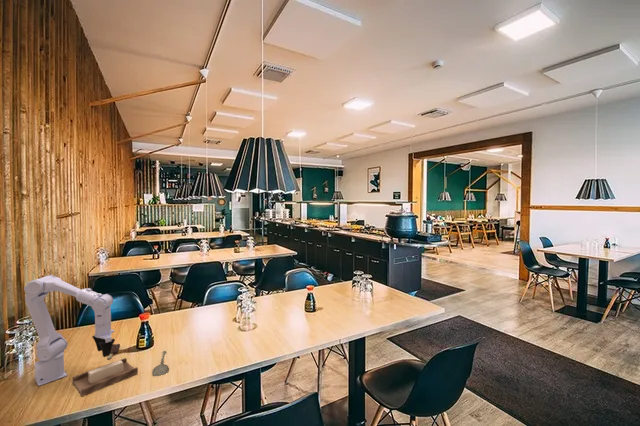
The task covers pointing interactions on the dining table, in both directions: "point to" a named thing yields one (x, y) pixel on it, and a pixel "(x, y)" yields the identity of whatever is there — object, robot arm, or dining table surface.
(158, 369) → the soupspoon
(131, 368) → the tray
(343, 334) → the dining table surface
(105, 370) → the clay bar
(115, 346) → the ice cream bar
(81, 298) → the robot arm
